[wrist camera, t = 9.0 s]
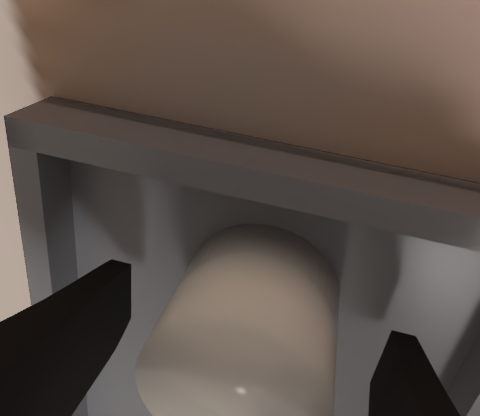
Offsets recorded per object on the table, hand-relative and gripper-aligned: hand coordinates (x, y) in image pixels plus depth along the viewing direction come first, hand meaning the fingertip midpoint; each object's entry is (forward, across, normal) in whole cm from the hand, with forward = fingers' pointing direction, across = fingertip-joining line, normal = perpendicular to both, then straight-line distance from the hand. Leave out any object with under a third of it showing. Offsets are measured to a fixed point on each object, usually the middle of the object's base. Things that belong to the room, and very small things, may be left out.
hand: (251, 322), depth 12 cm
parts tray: (+2, 0, +4) cm, 4 cm away
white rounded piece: (+2, 0, 0) cm, 2 cm away
